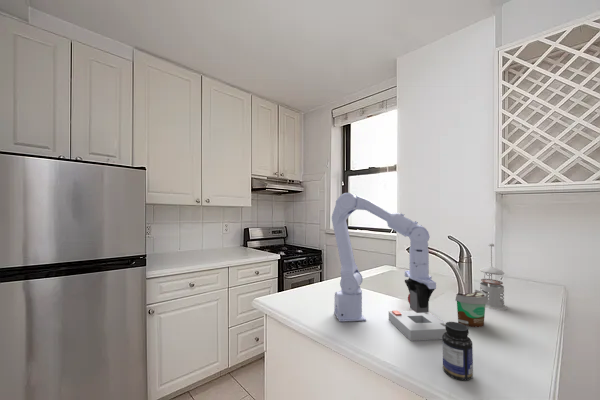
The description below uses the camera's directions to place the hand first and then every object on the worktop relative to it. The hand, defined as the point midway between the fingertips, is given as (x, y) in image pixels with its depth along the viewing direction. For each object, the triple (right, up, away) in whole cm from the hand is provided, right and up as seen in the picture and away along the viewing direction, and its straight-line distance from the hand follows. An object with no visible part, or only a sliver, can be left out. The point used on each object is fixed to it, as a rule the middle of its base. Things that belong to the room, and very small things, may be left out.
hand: (419, 304), depth 83 cm
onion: (+6, -8, +16) cm, 19 cm away
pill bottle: (-1, -7, -23) cm, 24 cm away
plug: (0, -2, 0) cm, 2 cm away
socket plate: (0, -8, 0) cm, 8 cm away
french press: (+40, -9, +22) cm, 46 cm away
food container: (+21, -8, +3) cm, 22 cm away
